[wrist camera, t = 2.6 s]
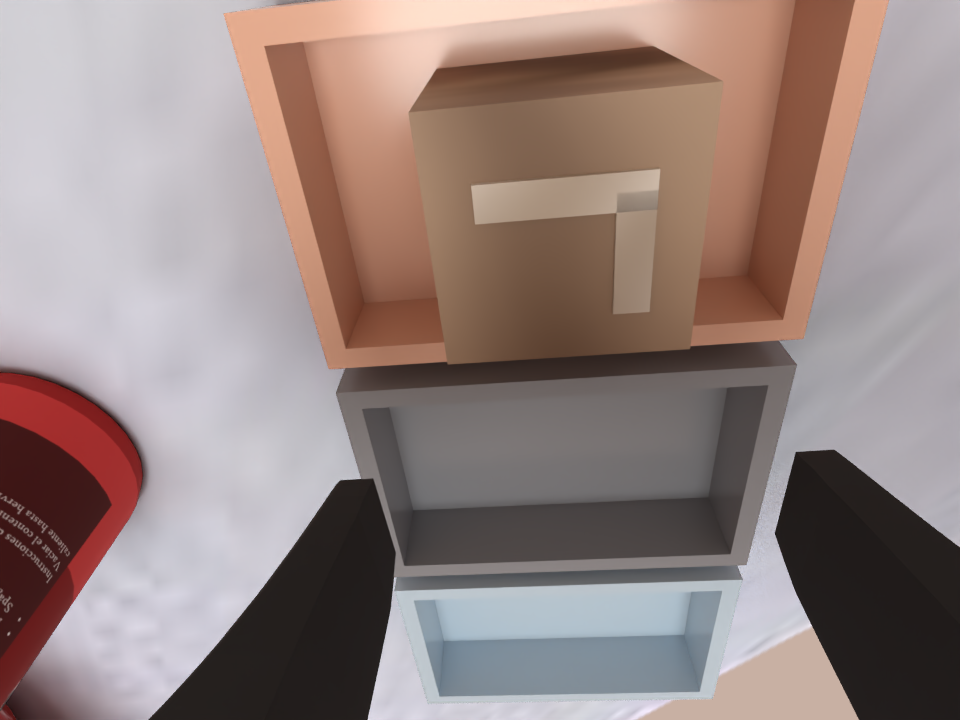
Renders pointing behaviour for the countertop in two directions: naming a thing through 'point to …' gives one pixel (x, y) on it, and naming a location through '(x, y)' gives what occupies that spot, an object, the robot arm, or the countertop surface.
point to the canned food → (54, 509)
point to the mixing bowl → (6, 714)
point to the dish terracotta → (537, 34)
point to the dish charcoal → (571, 457)
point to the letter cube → (566, 202)
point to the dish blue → (570, 633)
